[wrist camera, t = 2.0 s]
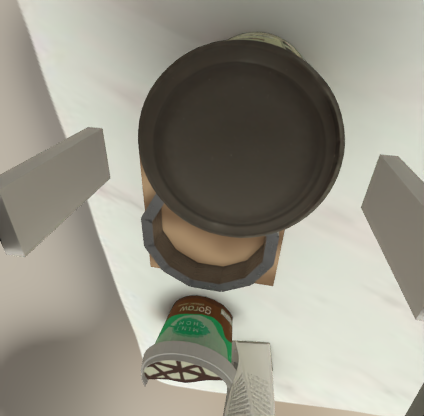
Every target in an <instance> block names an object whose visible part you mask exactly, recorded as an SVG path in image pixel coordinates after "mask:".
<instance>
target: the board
mask: <svg viewBox="0 0 424 416" xmlns="http://www.w3.org/2000/svg"><path fill="white" fill-rule="evenodd" d="M139 155H140V153H139ZM140 165H141V175H142V185H143V195H144V205H145V211H146V209H147V207H148V206H149V204H150V202H151V201H152V199H153V197H154V196H155V194H156V192H155V191H154V189H153V188H152V186H151V184H150V182H149V181H148V179H147V176H146V174H145V172H144V169H143V166H142V163H141V159H140ZM161 211H162V226H163V231H164V232H165V234H166V235H167V237H168V238H169V240H170V241H171V243H172V244H173V245H174V247H175V248H176V250H178V251H179V252H181V253H183V254H184V255H186V256H188V257H189V258H191V259H193V260H195V261H196V262H198V263H204V264H210V265H217V266H223V267H224V266H227V265H231V264H235V263H238V262H242V261H246V260H248V259H249V258H250V257H251V256H252V255H253V254H254V253H255V252H256V251H257V250H258V249H259V248H260V247H261V246H262V245H263V244H264V238H265V236H261V237H252V238H234V237H227V236H221V235H217V234H213V233H209V232H207V231H204V230H202V229H199V228H197V227H195V226H193V225H191V224H189V223H188V222H186V221H184V220H183V219H181V218H180V217H179V216H177V215H176V214H175V213H174V212H172V211H171V210H170V209H169V208H168V207H167V206H166V204H165V203H164V204H163V206H162V207H161ZM284 231H285V229H284V230H282V231H280V232H279V241H278V246H277V251H276V256H275V261H274V265H273V267H271V268H270V269H269V270H268V271H267V272H266V273H265V274H264V275H262V276H261V277H260V278H259V279H258V280H257V281H256V282H255V283H257V284H263V285H270V286H273V284H274V279H275V274H276V269H277V264H278V260H279V255H280V250H281V245H282V240H283V236H284ZM149 254H150V253H149ZM150 264H151V267H156V268H160V267H159V266H158V264H157V263H156V262H155V260H154V259H153V257H152V256H151V255H150Z"/></svg>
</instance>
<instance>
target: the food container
mask: <svg viewBox="0 0 424 416" xmlns="http://www.w3.org/2000/svg"><path fill="white" fill-rule="evenodd" d="M231 361H232V316H231V314H230V312H229V311H228V310H227V309H226V308H225V307H224V306H223V305H222V304H220V303H219V302H217V301H216V300H213V299H210V298H207V297H204V296H186V297H183V298H181V299H179V300H178V301H176V303H175V304H174V305H173V307H172V309H171V311H170V314H169V316H168V318H167V320H166V322H165V324H164V326H163V328H162V330H161V332H160V334H159V336H158V338H157V340H156V343H155V344H154V345H153V346H151V347H149V348H148V349H147V350H146V352H145V354H144V357H143V363H142V369H141V373H142V375H141V377H142V382H143V384H144V386H146V384H147V382H148V380H149V379H169V380H173V381H178V382H184V383H188V382H197V381H204V380H223V381H224V382H225V383H226V384H227V386H228V387H229V389H230V387H231V383H233V382H234V378H235V375H236V370H235V368H234V367H233V365H232V364H231Z"/></svg>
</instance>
